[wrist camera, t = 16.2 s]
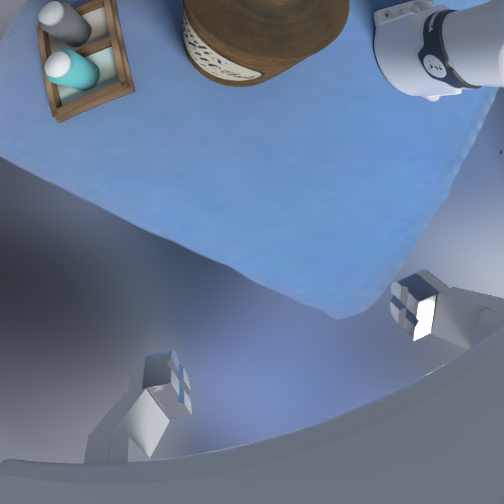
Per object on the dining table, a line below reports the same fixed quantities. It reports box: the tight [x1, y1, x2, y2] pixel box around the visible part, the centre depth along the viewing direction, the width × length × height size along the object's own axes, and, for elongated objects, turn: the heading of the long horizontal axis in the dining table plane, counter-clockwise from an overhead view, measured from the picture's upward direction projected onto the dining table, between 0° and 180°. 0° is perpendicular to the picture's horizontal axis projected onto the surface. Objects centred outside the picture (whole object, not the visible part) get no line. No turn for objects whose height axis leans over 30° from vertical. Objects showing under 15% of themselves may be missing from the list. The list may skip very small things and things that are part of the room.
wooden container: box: [183, 0, 349, 87], centre depth 24 cm, size 15×15×22 cm
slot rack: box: [37, 0, 135, 123], centre depth 29 cm, size 16×12×3 cm
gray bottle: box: [39, 1, 92, 47], centre depth 23 cm, size 4×4×10 cm
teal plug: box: [45, 49, 100, 91], centre depth 26 cm, size 4×4×10 cm
